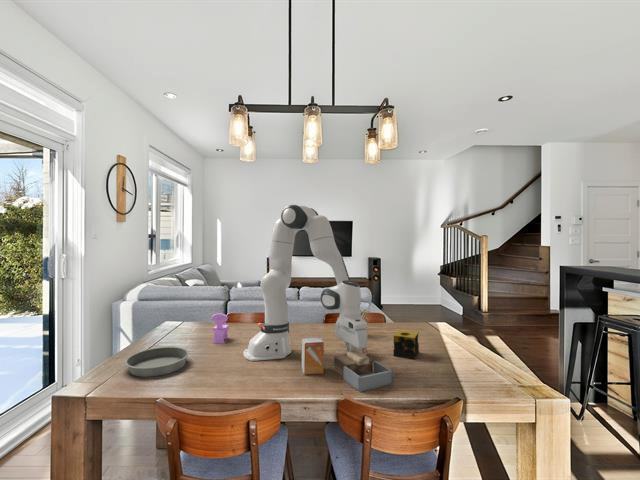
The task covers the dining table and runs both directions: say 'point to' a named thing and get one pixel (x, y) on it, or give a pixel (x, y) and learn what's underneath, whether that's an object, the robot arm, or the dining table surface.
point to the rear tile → (351, 353)
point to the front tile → (360, 359)
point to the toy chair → (220, 328)
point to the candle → (406, 344)
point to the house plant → (364, 314)
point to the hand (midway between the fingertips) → (350, 353)
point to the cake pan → (156, 361)
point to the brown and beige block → (351, 365)
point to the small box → (312, 355)
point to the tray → (369, 378)
